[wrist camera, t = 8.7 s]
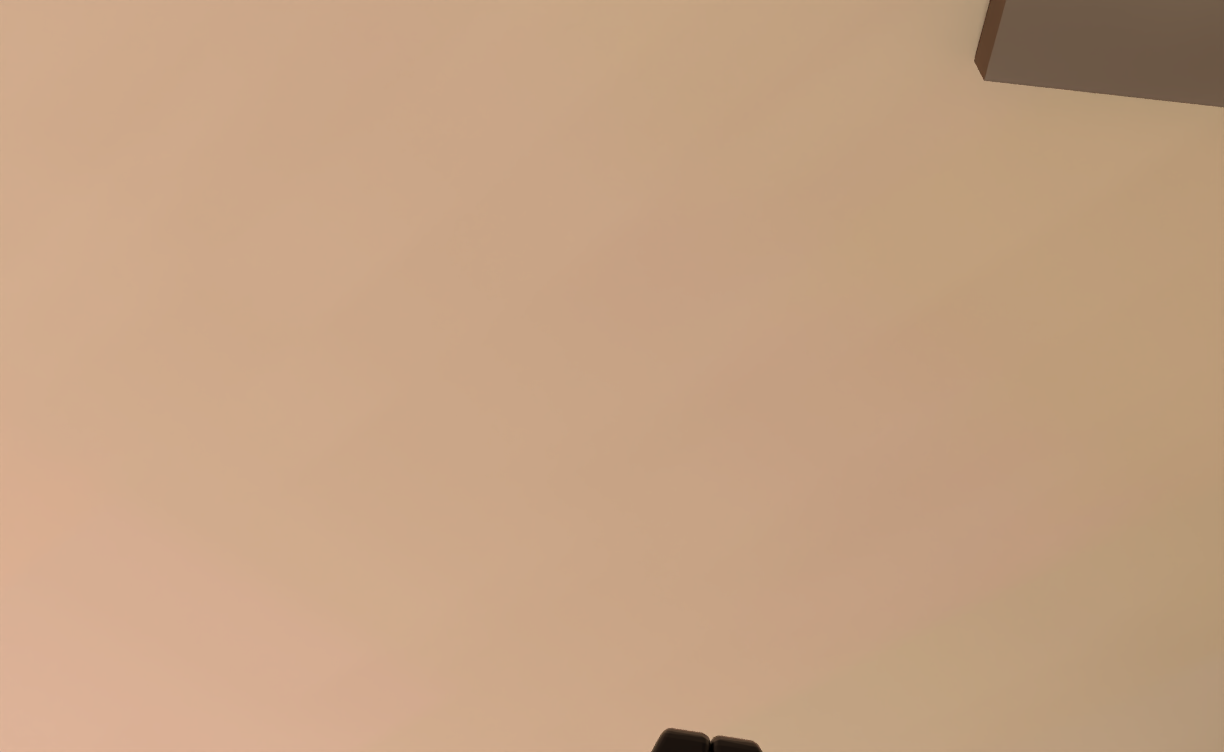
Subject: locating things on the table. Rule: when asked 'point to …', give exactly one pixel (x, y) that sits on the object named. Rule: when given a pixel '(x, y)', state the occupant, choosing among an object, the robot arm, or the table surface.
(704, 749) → the robot arm
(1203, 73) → the chute
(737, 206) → the table surface
